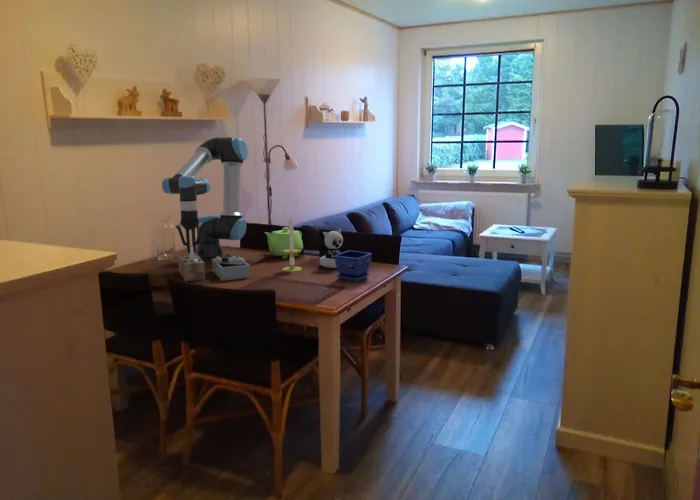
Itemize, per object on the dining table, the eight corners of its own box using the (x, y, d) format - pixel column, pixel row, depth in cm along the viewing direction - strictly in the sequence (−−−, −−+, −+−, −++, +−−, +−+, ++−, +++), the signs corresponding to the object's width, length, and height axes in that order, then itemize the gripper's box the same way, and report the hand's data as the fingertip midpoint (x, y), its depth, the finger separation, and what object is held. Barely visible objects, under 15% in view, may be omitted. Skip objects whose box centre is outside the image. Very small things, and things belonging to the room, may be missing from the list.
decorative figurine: (324, 270, 276) (323, 230, 272) (316, 263, 290) (315, 226, 286) (352, 267, 281) (352, 229, 277) (343, 261, 295) (343, 224, 290)
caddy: (239, 267, 281) (238, 256, 280) (250, 277, 263) (249, 265, 262) (212, 270, 275) (211, 259, 274) (221, 280, 257) (220, 268, 256)
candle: (305, 268, 280) (304, 215, 275) (295, 272, 272) (294, 218, 266) (288, 266, 285) (287, 214, 279) (278, 270, 276) (276, 216, 270)
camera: (251, 272, 272) (250, 252, 269) (243, 276, 263) (242, 256, 261) (222, 270, 276) (221, 250, 274) (213, 274, 268) (212, 254, 266)
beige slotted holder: (197, 269, 278) (196, 253, 276) (205, 279, 260) (204, 261, 258) (178, 271, 274) (177, 255, 272) (185, 281, 256) (184, 263, 255)
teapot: (287, 249, 325) (286, 222, 322) (310, 255, 310) (310, 227, 306) (251, 255, 309) (250, 227, 305) (273, 262, 293) (272, 232, 290)
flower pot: (358, 284, 252) (358, 258, 249) (333, 279, 259) (333, 254, 256) (372, 277, 263) (372, 252, 260) (348, 273, 270) (348, 249, 267)
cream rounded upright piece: (197, 273, 267) (196, 258, 265) (199, 275, 262) (198, 260, 261) (186, 274, 264) (185, 259, 263) (188, 277, 260) (187, 261, 258)
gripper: (201, 207, 263) (204, 256, 268) (173, 209, 257) (176, 259, 262) (204, 209, 256) (207, 259, 261) (175, 211, 251) (179, 262, 256)
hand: (192, 259), depth 262 cm, fingers closed
